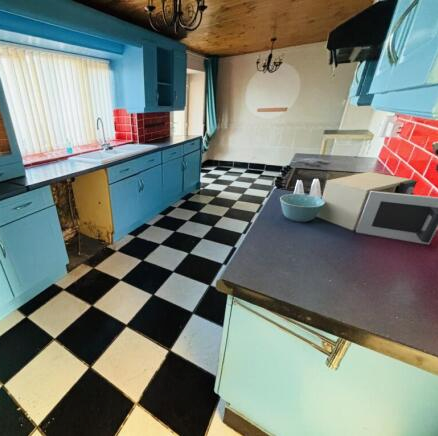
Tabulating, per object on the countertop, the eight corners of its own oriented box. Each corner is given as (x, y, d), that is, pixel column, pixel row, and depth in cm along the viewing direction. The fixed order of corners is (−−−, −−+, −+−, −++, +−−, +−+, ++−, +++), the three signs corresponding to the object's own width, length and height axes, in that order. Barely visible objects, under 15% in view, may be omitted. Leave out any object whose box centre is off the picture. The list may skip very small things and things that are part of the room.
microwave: (403, 219, 94) (420, 180, 87) (359, 233, 86) (375, 191, 80) (357, 206, 108) (369, 171, 101) (316, 216, 101) (326, 180, 94)
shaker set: (320, 200, 117) (326, 178, 113) (320, 202, 114) (327, 180, 109) (292, 197, 123) (296, 176, 118) (292, 199, 120) (296, 178, 115)
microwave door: (435, 252, 73) (460, 206, 67) (358, 238, 83) (373, 196, 76) (427, 242, 79) (450, 198, 72) (355, 230, 88) (370, 190, 82)
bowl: (274, 221, 99) (277, 202, 95) (279, 208, 111) (282, 191, 107) (319, 229, 91) (325, 209, 87) (319, 214, 102) (324, 196, 99)
